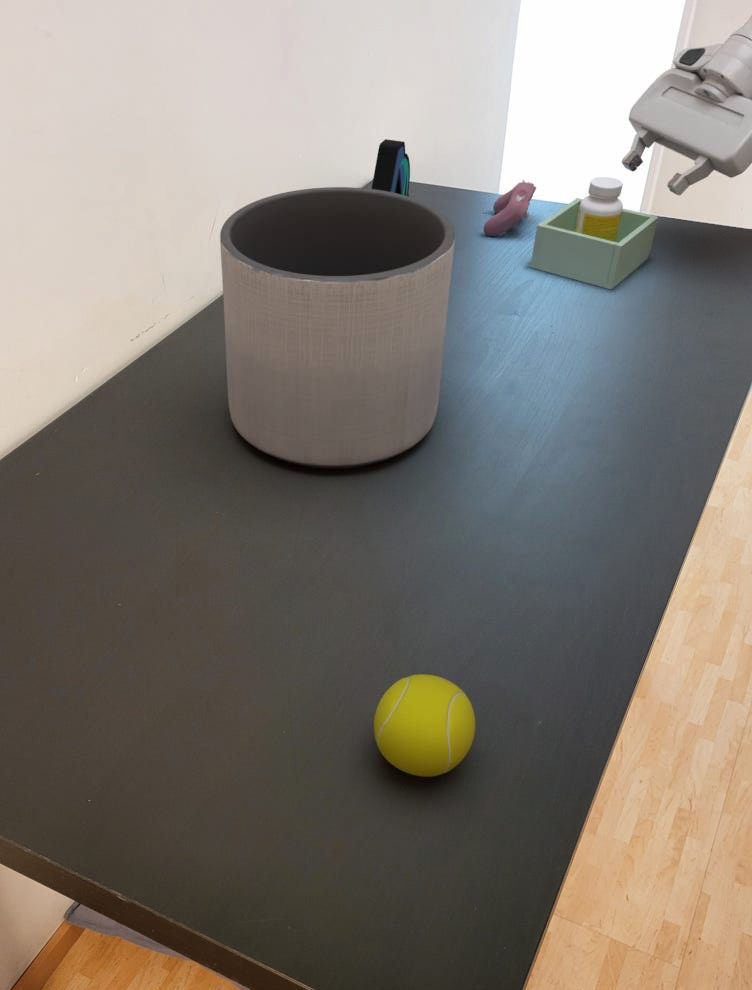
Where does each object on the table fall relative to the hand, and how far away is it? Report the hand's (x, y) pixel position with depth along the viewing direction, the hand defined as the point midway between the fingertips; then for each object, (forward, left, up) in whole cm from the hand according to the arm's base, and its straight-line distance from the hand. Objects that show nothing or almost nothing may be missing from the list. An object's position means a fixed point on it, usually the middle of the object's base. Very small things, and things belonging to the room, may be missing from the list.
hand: (649, 178), depth 121 cm
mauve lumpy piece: (+18, 0, -10) cm, 21 cm away
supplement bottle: (+3, +5, -10) cm, 12 cm away
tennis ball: (-24, +90, -10) cm, 94 cm away
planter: (+8, +57, -10) cm, 59 cm away
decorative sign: (+26, +20, -10) cm, 35 cm away
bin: (+3, +5, -10) cm, 12 cm away
